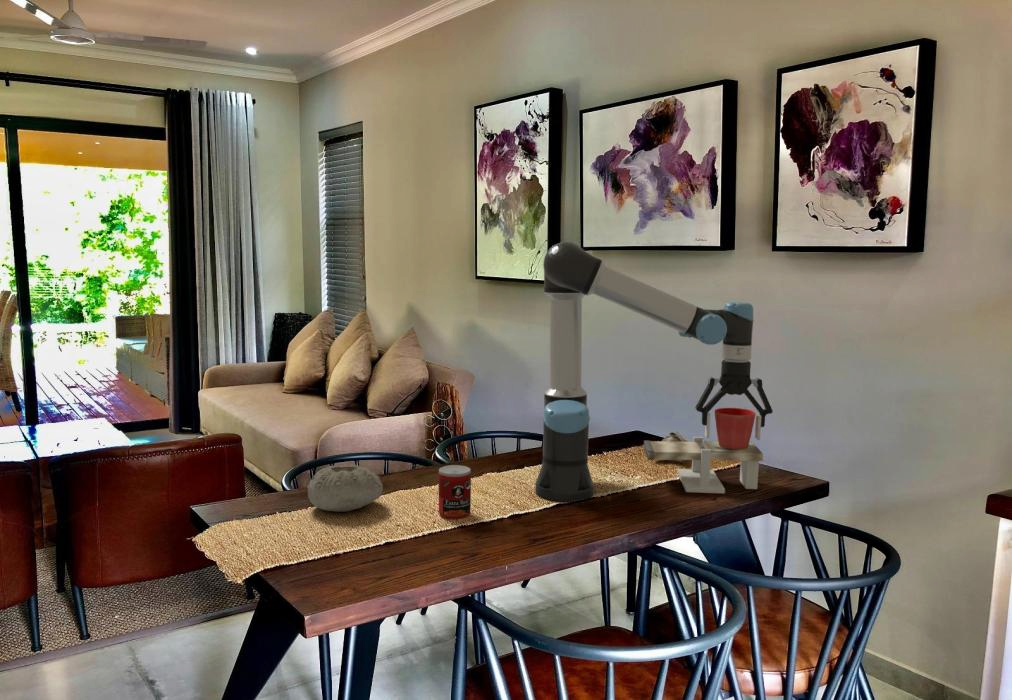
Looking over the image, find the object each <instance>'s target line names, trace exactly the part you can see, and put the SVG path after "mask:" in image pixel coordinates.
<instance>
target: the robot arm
mask: <svg viewBox="0 0 1012 700" xmlns="http://www.w3.org/2000/svg"><path fill="white" fill-rule="evenodd" d="M544 255H545V256H544V259H543V263H542V265H543V271H544V272H543V277H544V278H543V281H544V282H543V284H544V285H543V291H544V292H543V294H544V295H546V296H547V297H548V299H549V387H547V389H546V390H544V393H543V394H544V395H543V397H544V404H543V406H544V408H543V414H542V420H543V421H542V422H543V430H542V431H543V437H542V441H543V442H542V464H541V467H540V469H539V473H538V476H537V478H536V480H535V481H536V482H535V494H536V495H537V496H539V497H540V498H543V499H545V500H550V501H556V502H578V501H579V502H580V501H583V500H587V499H590V498H591V497H593V496H594V486H595V485H594V483H593V479H592V476H591V472H590V469H589V465H588V463H589V462H588V460H589V459H588V457H589V455H588V454H589V432H590V431H589V429H590V428H589V427H590V425H589V424H590V419H591V417H590V416H591V415H590V411H589V408H588V400H587V399H588V393H587V390H585V389H584V388H583V387H582V332H583V331H582V325H583V324H582V320H583V319H582V318H583V316H582V315H583V312H582V311H583V310H582V308H583V307H582V305H583V303H582V302H583V301H582V300H583V298H584V297H585V296H590V295H596V296H597V297H599V298H602V299H605V300H607V301H609V302H611V303H614V304H616V305H617V306H620V307H622V308H625V309H627V310H629V311H632V312H634V313H637V314H639V315H640V316H643V317H646V318H648V319H651V320H652V321H655V322H657V323H659V324H662V325H664V326H666V327H668V328H671V329H674V330H676V331H677V333H678V335H679V336H680V337H683V338H689V339H690V338H692V339H695V340H698V341H699V342H701V343H702V344H706V345H709V346H712V345H713V346H714V345H717V344H719V343H721V342H722V348H721V349H722V350H721V351H722V352H721V358H722V359H723V360H721V368H720V369H721V371H720V372H721V373H720V377H719V378H717V377H713V376H709V377H708V381H707V385H706V387H705V389H704V391H703V392H702V394H701V396H700V398H699V400H698V402H697V403H696V405H695V410H696V411H697V412H700V413H701V424H702V426H705V428H704V437H705V438H706V439H710V433H711V432H710V430H711V429H710V428H711V414H710V411H711V410H712V409H713V408H714V407H715V406H716V404H718V403H719V401H720V400H721V399H722V398H723V397H724V396H726V395H727V394H728V395H731V396H732V395H737V396H741V395H743V394H744V395H745V397H746V398H747V399H748V400H749V402H750V403H751V404H752V406H753V407H754V408H755V410H756V411H757V412H758V413H755V428H754V429H755V430H754V432H755V433H754V438H755V439H756V440H758V441H761V428H765V426H766V425H765V424H766V416H767V415H769V414H770V415H771V414H773V408H772V405H771V404H770V401H769V400H768V397H767V395H766V392H765V390H764V388H763V380H762V379H761V378H759V377H756V378H754V379H753V378H752V379H751V367H752V366H751V365H752V363H751V361H749V360H751V359H752V341H753V330H754V329H753V328H754V306H753V304H752V303H750V302H742V301H739V302H738V301H733V302H732V301H731V302H730V301H729V302H726V303H724V307H723V309H705V308H704V309H703V308H701V307H699V306H697V305H694V304H692V303H690V302H688V301H685V300H683V299H681V298H679V297H676V296H674V295H672V294H670V293H667V292H665V291H663V290H661V289H658V288H656V287H655V286H652V285H650V284H647V283H645V282H643V281H641V280H638V279H635V278H633V277H631V276H629V275H626V274H625V273H622V272H619V271H617V270H615V269H613V268H611V267H609V266H607V265H605V262H604V260H602V259H601V258H597V257H596V256H594V255H592V254H591V253H589V252H587V251H586V250H584V248H582V247H581V246H580V245H578V244H577V243H574V242H568V241H561V242H558V243H556V244H554V245H552V246H551V247H550V248H549V249H548V251H546V253H545V254H544ZM718 383H719V385H720V388H719V389H718V391H717V392H716V393H715V394H714V395H713V397H712V398H711V399H710V400H709V401H708V398H709V397H710V395H711V393H712V391H713V389H714V387H715V386H717V384H718ZM752 384H753V385H752ZM751 385H752V386H753V387H755V388H756V391H757V393H758V395H759V397H760V399H761V403H762V404H763V407H764V409H763V407H762V406H761V405H760V404H759V402H758V400H757V399H756V398H755V397H754V396H753V395H752V393H751V392H750V390H749V387H750V386H751ZM707 401H708V402H707ZM706 402H707V403H706ZM705 403H706V404H705Z"/></svg>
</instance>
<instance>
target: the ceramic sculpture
mask: <svg viewBox="0 0 1012 700" xmlns="http://www.w3.org/2000/svg"><path fill="white" fill-rule="evenodd" d="M661 441H667V442H686V440H685V438H684V437H683V436H682V435H681V434H680V433H679V432H678V431H675V432H668V434H667V435H666V437H664V438H662V440H661ZM667 461H670V462H675V461H676V462H678V463H682V462H684V461H686V460H667Z"/></svg>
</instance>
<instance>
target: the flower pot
mask: <svg viewBox="0 0 1012 700" xmlns="http://www.w3.org/2000/svg"><path fill="white" fill-rule="evenodd" d="M714 419H715V421H714V422H715V428H716V436H717V441H718V443H719V446H721V447H723V448H727V449H746V448H748V446H749V442H751V436H752V432H753V428H754V424H755V423H754V422H755V420H756V412H755V411H754V410H751V409H748V408H747V409H746V408H740V407H739V408H738V407H719V408H717V409H716V408H715V409H714Z"/></svg>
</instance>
